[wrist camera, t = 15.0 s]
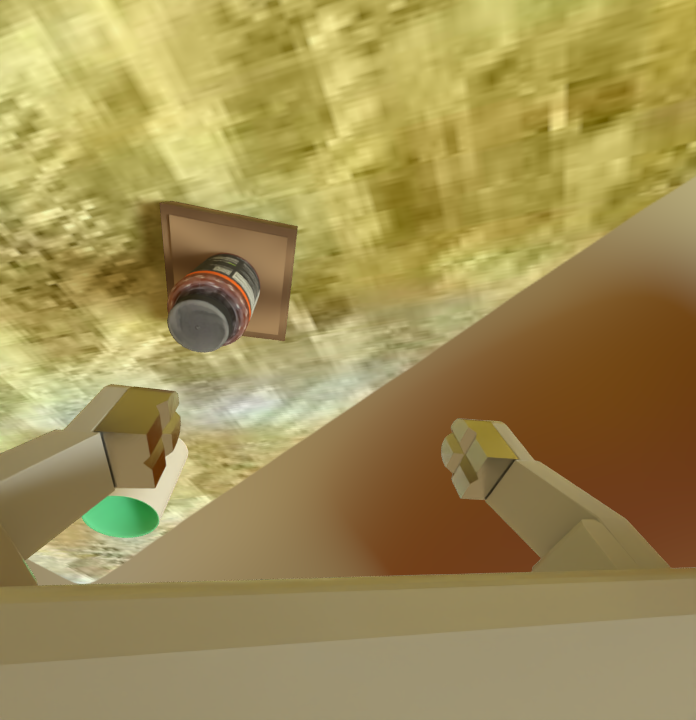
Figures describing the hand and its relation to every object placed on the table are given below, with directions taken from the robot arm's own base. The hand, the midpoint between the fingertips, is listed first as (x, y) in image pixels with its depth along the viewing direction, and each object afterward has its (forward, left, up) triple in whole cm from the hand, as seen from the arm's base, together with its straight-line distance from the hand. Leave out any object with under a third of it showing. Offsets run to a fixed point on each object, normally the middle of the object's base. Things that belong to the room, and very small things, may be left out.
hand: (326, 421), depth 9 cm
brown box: (+4, -8, -28) cm, 29 cm away
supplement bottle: (+4, -8, -25) cm, 26 cm away
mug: (+31, -20, -28) cm, 46 cm away
